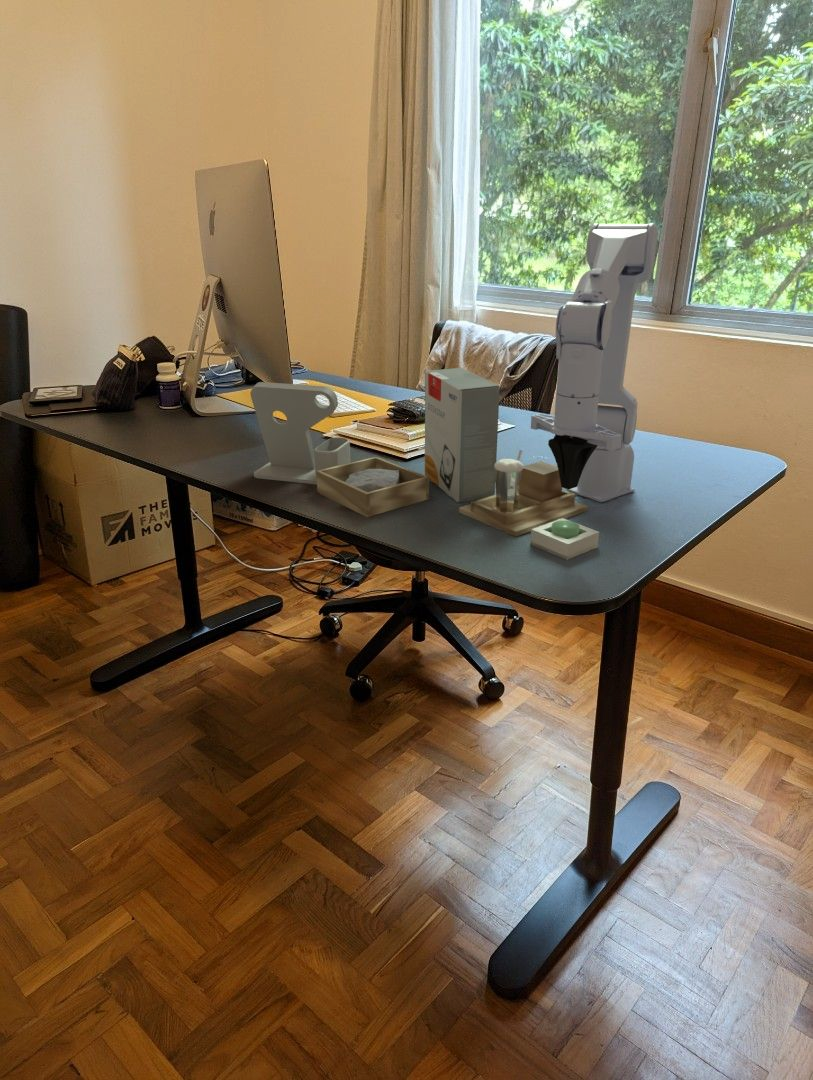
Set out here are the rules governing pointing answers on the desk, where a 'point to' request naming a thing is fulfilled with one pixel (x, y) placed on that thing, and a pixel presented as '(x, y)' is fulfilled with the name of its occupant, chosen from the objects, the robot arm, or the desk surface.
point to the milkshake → (508, 483)
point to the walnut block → (540, 482)
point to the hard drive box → (461, 433)
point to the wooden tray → (376, 501)
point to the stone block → (374, 479)
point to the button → (565, 529)
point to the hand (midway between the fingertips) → (569, 486)
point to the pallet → (523, 512)
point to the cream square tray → (564, 541)
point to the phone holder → (296, 431)
